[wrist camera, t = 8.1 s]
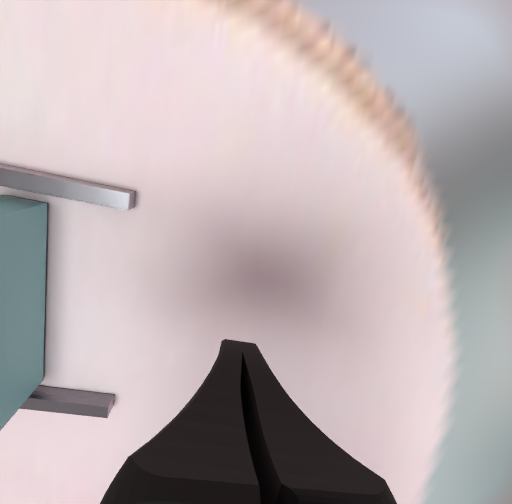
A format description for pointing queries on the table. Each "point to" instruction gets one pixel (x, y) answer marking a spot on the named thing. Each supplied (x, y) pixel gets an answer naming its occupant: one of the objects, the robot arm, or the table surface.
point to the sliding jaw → (21, 300)
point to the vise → (83, 192)
